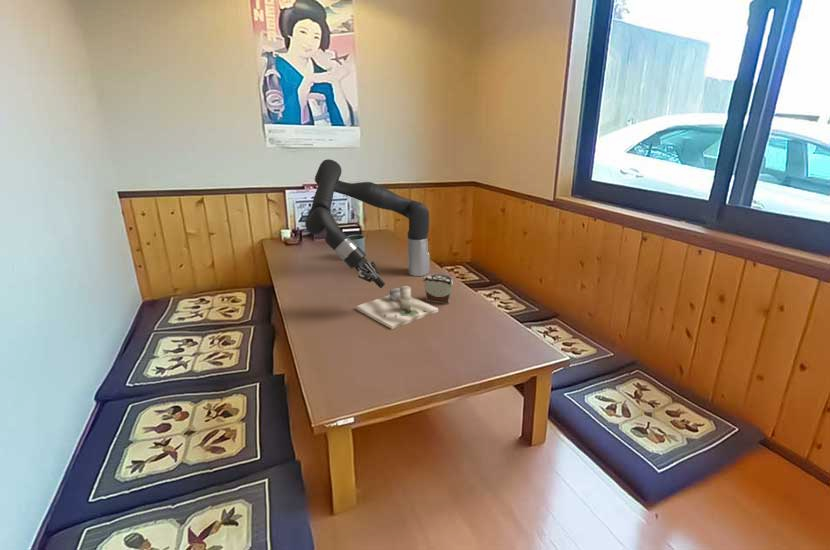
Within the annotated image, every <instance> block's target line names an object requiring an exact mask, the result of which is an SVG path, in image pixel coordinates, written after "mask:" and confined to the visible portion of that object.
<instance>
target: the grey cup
mask: <svg viewBox="0 0 830 550" xmlns="http://www.w3.org/2000/svg"><path fill="white" fill-rule="evenodd" d="M346 236H347V237H348V238H349V239H350V240H352V241H353V242H354V243H355V244H356V245H357V246H358V247H359V248H360V249H361V250H362V251H363V252H364V253H366V252H365V251H366V247H365V245H366V243H365V240H366V239H365V238H366V237H365V235H363V234H350V235H346ZM365 257H366V256H365ZM365 257H364V258H365ZM365 259H366V258H365Z"/></svg>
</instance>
